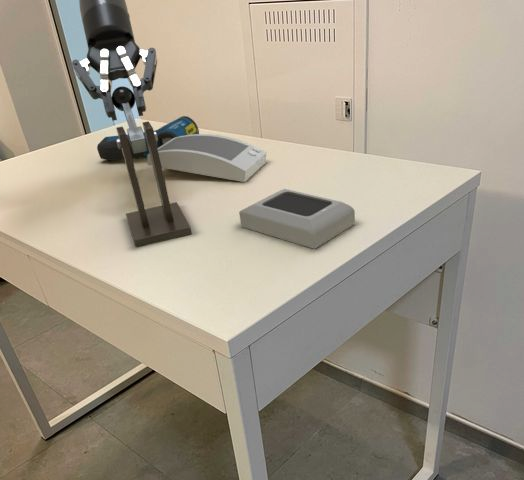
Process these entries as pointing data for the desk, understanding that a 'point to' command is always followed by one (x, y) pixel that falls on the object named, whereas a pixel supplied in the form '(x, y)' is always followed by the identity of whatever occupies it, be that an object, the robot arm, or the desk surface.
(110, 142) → the infrared thermometer
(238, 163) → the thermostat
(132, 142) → the latch lever
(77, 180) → the desk surface
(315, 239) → the grey flat block
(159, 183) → the latch bracket
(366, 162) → the desk surface
